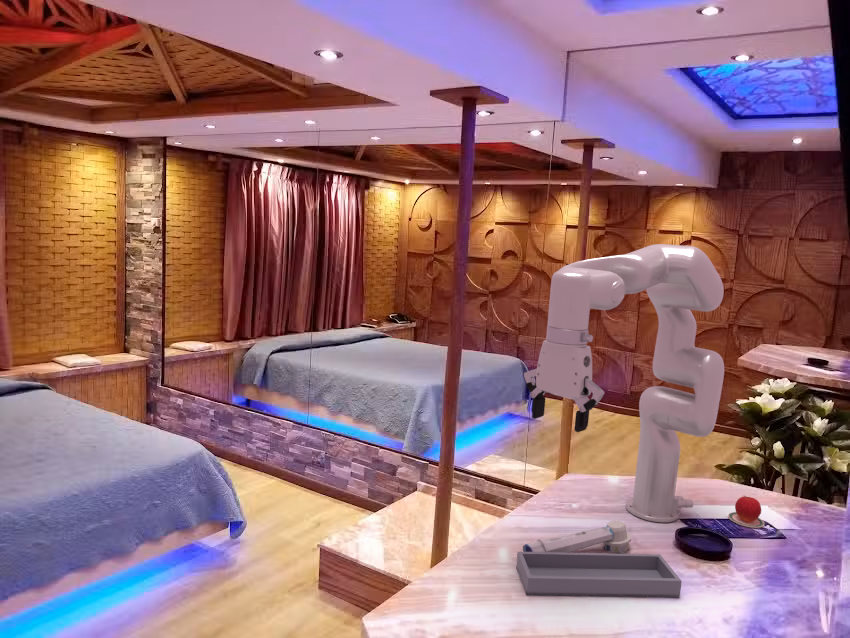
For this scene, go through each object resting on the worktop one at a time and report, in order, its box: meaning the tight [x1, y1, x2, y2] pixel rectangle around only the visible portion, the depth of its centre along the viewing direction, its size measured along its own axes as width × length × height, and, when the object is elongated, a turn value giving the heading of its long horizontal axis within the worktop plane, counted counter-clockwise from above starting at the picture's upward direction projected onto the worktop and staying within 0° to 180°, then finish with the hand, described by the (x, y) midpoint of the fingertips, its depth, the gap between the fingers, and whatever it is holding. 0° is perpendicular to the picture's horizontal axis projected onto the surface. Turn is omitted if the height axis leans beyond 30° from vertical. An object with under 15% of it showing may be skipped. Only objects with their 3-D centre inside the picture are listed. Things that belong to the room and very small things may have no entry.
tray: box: [515, 551, 683, 599], centre depth 125 cm, size 30×10×4 cm, turn 94°
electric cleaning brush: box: [522, 520, 632, 554], centre depth 136 cm, size 5×7×25 cm
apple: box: [727, 495, 765, 529], centre depth 156 cm, size 8×8×6 cm
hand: (558, 423), depth 123 cm, fingers open, 9 cm apart
